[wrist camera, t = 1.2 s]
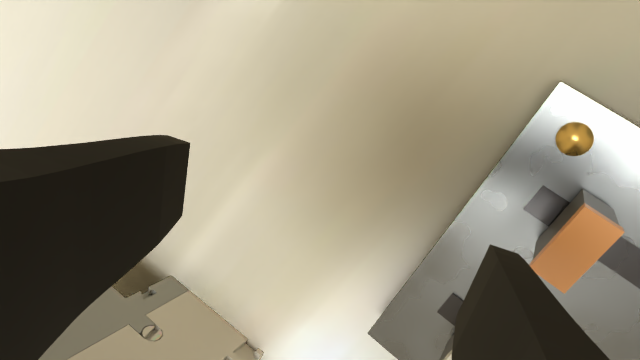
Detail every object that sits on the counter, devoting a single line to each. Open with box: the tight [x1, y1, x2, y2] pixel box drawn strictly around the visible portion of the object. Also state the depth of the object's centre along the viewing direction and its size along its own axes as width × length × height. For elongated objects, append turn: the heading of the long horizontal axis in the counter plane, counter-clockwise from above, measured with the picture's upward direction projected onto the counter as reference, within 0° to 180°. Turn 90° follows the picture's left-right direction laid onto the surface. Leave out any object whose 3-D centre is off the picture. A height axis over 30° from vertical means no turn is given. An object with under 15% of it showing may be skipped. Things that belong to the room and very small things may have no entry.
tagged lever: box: [529, 189, 625, 294], centre depth 16 cm, size 1×3×3 cm, turn 149°
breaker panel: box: [368, 81, 640, 360], centre depth 19 cm, size 12×14×2 cm
